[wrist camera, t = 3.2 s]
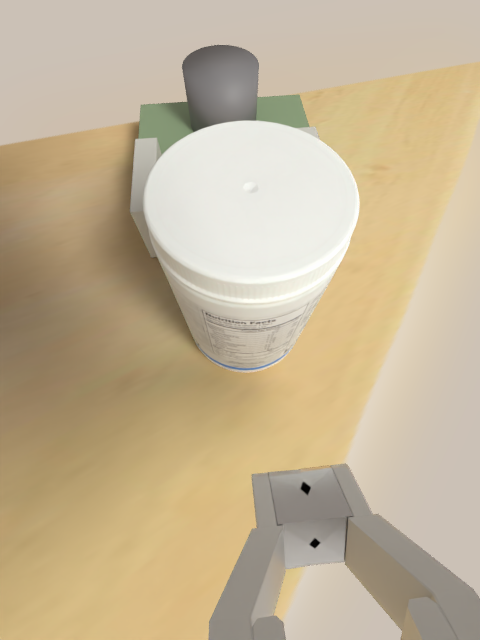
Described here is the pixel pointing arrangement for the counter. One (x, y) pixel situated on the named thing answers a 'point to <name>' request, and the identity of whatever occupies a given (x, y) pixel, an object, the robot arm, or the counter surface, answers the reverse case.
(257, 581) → the robot arm
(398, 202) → the counter surface
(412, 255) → the counter surface
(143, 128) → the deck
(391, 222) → the counter surface
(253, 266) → the supplement tub
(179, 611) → the counter surface
